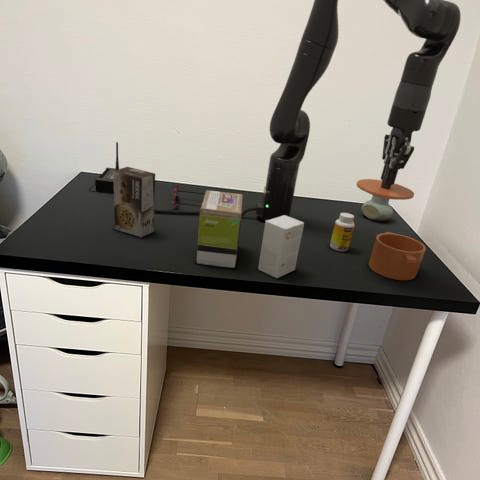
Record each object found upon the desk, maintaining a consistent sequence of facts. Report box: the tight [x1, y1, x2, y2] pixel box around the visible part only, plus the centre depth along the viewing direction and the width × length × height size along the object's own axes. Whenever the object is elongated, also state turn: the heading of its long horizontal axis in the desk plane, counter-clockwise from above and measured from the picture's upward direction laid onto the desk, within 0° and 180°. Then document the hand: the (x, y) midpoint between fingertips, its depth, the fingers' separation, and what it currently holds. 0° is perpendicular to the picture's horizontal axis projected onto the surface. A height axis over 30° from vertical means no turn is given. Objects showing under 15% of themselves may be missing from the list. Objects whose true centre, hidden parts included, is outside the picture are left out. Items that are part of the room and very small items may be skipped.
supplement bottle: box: [329, 212, 355, 252], centre depth 136 cm, size 6×6×10 cm
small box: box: [257, 215, 305, 279], centre depth 117 cm, size 8×6×13 cm
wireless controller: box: [90, 141, 120, 195], centre depth 155 cm, size 20×14×17 cm
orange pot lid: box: [356, 164, 415, 201], centre depth 115 cm, size 14×14×7 cm
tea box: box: [196, 189, 244, 269], centre depth 120 cm, size 15×10×15 cm, turn 178°
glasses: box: [171, 185, 206, 210], centre depth 153 cm, size 14×16×5 cm
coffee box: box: [113, 166, 156, 238], centre depth 126 cm, size 9×6×16 cm
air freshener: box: [361, 195, 394, 222], centre depth 166 cm, size 11×8×10 cm
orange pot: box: [368, 231, 427, 281], centre depth 128 cm, size 13×18×8 cm
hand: (386, 182), depth 115 cm, fingers closed on orange pot lid, 2 cm apart
